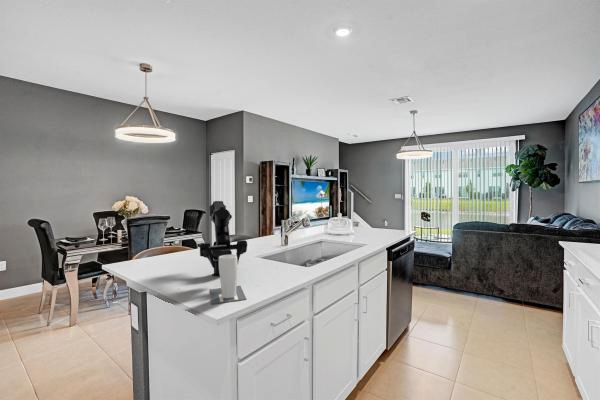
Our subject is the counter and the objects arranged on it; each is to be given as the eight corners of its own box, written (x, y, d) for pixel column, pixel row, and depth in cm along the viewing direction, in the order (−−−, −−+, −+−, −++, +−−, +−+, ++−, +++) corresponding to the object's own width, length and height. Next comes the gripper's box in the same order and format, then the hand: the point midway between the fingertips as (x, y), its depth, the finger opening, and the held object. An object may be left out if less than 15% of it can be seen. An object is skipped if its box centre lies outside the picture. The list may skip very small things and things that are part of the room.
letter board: (210, 290, 118) (210, 289, 118) (240, 286, 122) (240, 285, 122) (211, 304, 103) (211, 303, 103) (246, 299, 107) (246, 298, 107)
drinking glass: (225, 292, 113) (224, 254, 113) (241, 294, 112) (240, 254, 111) (216, 299, 107) (214, 258, 106) (232, 300, 105) (231, 258, 105)
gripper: (242, 243, 134) (247, 273, 124) (199, 246, 128) (200, 279, 118) (245, 228, 127) (250, 259, 117) (199, 231, 121) (200, 264, 111)
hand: (225, 265), depth 116 cm, fingers open, 9 cm apart
